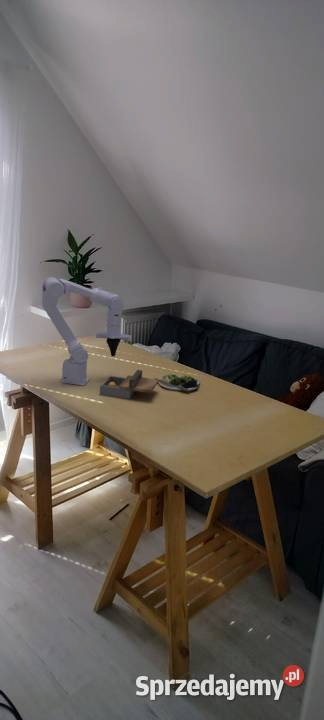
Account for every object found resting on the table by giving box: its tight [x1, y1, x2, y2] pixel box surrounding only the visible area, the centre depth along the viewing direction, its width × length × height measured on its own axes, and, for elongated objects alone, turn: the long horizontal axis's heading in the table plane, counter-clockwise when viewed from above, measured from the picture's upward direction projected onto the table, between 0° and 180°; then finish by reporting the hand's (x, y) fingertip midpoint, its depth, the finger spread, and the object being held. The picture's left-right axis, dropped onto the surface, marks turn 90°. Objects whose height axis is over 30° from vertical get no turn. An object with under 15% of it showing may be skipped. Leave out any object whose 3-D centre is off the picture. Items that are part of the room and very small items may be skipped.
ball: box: [108, 382, 116, 387], centre depth 203 cm, size 3×3×3 cm
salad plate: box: [153, 374, 201, 393], centre depth 215 cm, size 19×18×5 cm
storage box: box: [99, 375, 136, 400], centre depth 203 cm, size 12×12×4 cm
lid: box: [119, 369, 159, 394], centre depth 200 cm, size 13×13×4 cm
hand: (113, 355), depth 213 cm, fingers closed
